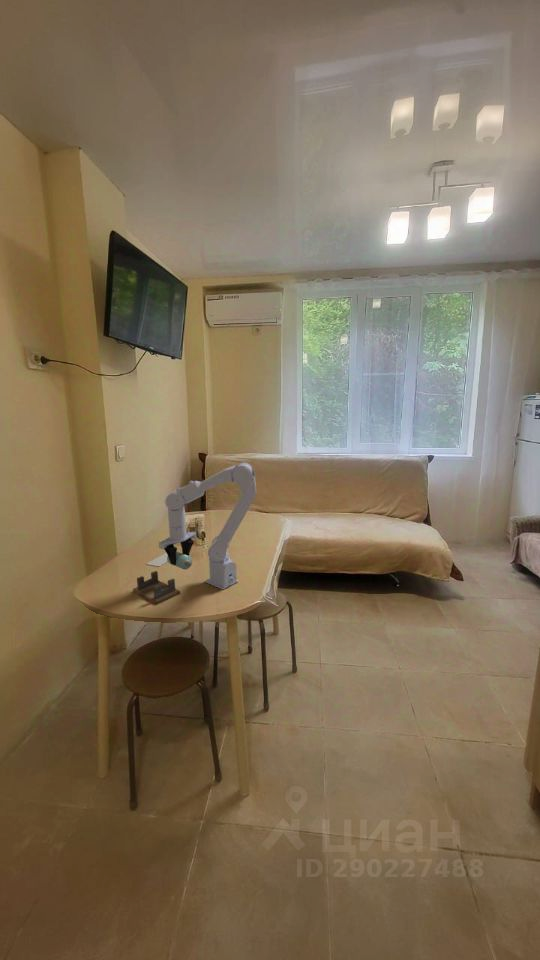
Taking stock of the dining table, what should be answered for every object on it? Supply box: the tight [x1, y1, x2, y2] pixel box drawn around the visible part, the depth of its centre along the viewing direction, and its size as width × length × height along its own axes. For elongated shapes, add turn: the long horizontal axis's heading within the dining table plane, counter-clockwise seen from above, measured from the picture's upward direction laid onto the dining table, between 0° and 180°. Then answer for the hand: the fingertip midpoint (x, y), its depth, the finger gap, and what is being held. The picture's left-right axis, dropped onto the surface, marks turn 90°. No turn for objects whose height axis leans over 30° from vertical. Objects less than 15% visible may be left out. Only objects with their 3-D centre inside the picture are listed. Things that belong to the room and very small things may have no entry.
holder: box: [132, 570, 181, 605], centre depth 122 cm, size 14×9×5 cm, turn 51°
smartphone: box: [145, 552, 168, 568], centre depth 151 cm, size 7×1×15 cm
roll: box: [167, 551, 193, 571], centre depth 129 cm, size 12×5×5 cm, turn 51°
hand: (179, 561), depth 129 cm, fingers closed on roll, 5 cm apart
